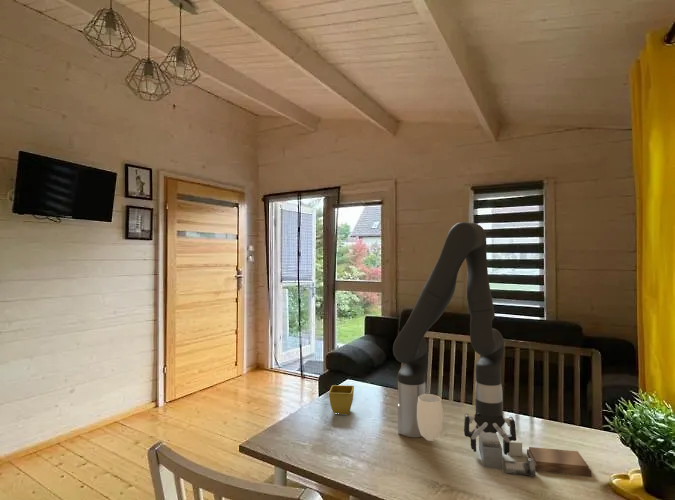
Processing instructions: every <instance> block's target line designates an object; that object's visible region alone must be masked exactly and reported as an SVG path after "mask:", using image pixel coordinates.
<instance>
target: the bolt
mask: <svg viewBox="0 0 675 500" xmlns="http://www.w3.org/2000/svg"><path fill="white" fill-rule="evenodd" d="M503 466H504V471H505V473H506V474H513V475H526V476H531V477H535V476H536V473H537V471H536V469H535V463H534V460H533V458H528V457H527V458H526V462H524V461H515V460H513V461H512V460H506V459H505V460H504V461H503Z"/></svg>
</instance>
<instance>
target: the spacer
mask: <svg viewBox="0 0 675 500" xmlns="http://www.w3.org/2000/svg"><path fill="white" fill-rule="evenodd" d="M509 449H510V451H509V453H507V456H514V457H515V456H516V457H517V456H518V457H519V456H520V457H523V442H522V441H521V439H520V437H519V436H517V435H516V441H510V442H509Z"/></svg>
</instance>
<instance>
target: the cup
mask: <svg viewBox="0 0 675 500" xmlns="http://www.w3.org/2000/svg"><path fill="white" fill-rule="evenodd" d="M417 422H418V428H419V431H420V434H421V435H422V436H421V437H423V438H424V439H425V441H429V442H434V441H436V439H438V438H440V436H441V435H442V431H443V426H444V409H443V403H442V397H440V396H438V395H436V394H432V393H426V394H423V395H420V396H419V397H418V403H417Z"/></svg>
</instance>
